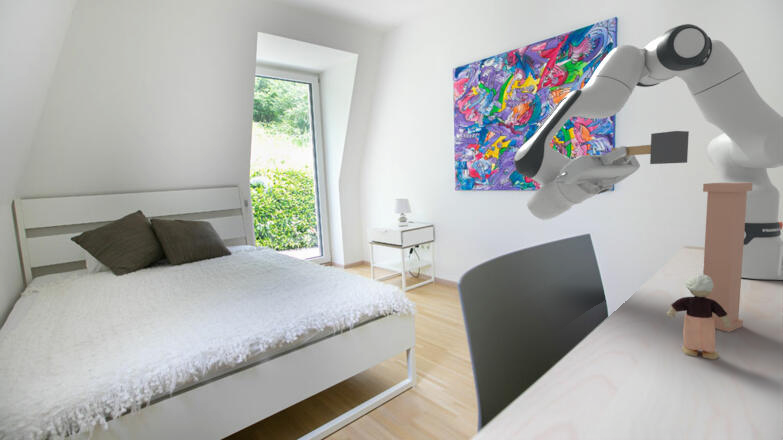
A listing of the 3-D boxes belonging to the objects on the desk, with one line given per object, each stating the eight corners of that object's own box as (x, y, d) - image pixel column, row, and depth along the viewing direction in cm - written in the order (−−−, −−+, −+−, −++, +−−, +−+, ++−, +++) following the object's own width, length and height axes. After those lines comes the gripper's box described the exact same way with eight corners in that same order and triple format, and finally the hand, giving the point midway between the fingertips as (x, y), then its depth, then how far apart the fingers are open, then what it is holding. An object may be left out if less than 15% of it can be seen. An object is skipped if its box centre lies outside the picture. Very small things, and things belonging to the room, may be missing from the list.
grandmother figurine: (722, 351, 59) (727, 273, 58) (731, 363, 56) (737, 279, 54) (663, 344, 62) (666, 269, 61) (668, 354, 59) (672, 275, 58)
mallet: (619, 165, 86) (620, 138, 85) (687, 162, 74) (688, 131, 73) (607, 166, 84) (607, 138, 83) (674, 162, 72) (676, 130, 71)
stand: (709, 317, 73) (717, 182, 70) (742, 326, 68) (752, 182, 65) (695, 322, 70) (703, 183, 68) (729, 332, 66) (738, 183, 63)
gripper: (545, 171, 89) (592, 136, 77) (601, 169, 98) (651, 137, 86) (556, 195, 87) (606, 162, 75) (612, 190, 96) (665, 160, 84)
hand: (631, 148), depth 81 cm, fingers closed on mallet, 2 cm apart
